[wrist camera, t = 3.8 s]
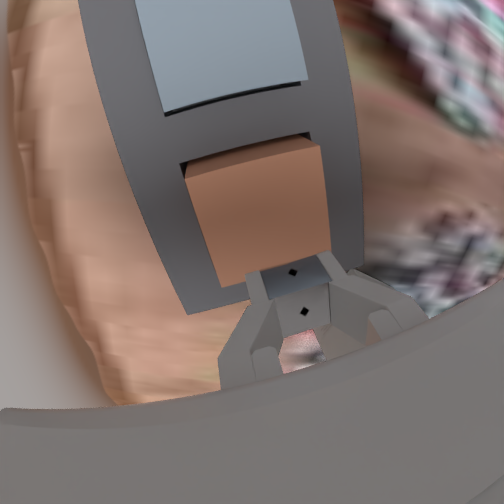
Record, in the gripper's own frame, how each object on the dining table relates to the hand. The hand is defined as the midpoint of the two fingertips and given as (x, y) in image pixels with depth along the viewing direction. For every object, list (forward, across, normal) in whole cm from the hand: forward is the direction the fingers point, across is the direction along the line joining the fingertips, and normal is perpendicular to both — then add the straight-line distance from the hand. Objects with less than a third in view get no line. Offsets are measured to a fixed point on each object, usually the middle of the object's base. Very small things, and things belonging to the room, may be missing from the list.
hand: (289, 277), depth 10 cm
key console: (+12, 0, -9) cm, 15 cm away
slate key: (+8, 0, -9) cm, 12 cm away
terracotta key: (+8, 0, 0) cm, 9 cm away
